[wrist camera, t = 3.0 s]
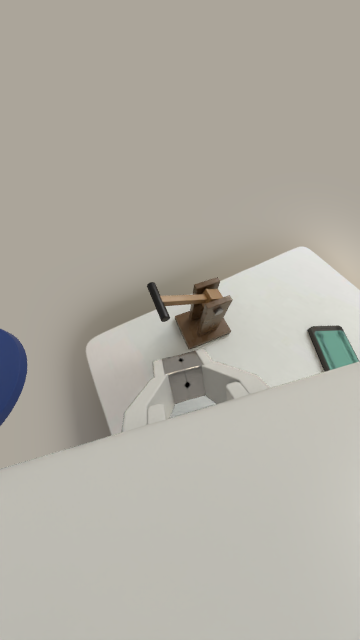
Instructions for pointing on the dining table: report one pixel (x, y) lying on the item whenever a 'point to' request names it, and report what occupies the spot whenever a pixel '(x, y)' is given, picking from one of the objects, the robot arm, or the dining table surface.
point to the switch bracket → (204, 317)
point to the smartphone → (332, 346)
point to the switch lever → (180, 299)
